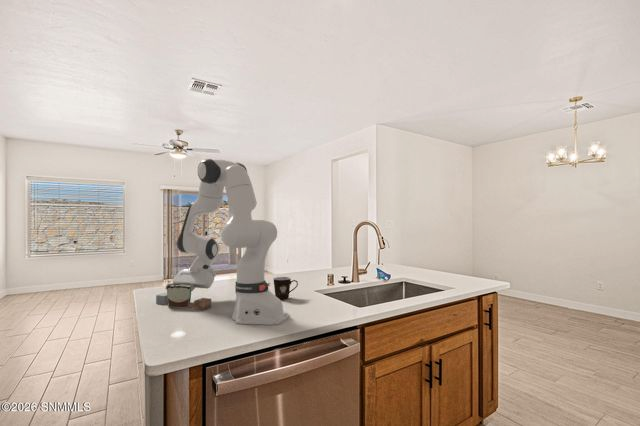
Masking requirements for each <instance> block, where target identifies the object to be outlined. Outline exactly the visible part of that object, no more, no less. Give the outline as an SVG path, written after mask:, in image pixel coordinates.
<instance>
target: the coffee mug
mask: <svg viewBox="0 0 640 426" xmlns="http://www.w3.org/2000/svg"><path fill="white" fill-rule="evenodd" d="M293 282H296V285H295V287H294V288H293V289H292V288H291V284H292V283H293ZM298 285H299V283H298V281H297V280H295V279H291V277H290V276H289V277H288V276H277V277H273V287H274V295H275V296H276V297H277V298H279V299H280V300H281V301H286V300H289V299H290V298H289V297H290V293H291V292H293V291H294V290H295V289H297V288H298ZM290 288H291V290H290Z"/></svg>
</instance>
